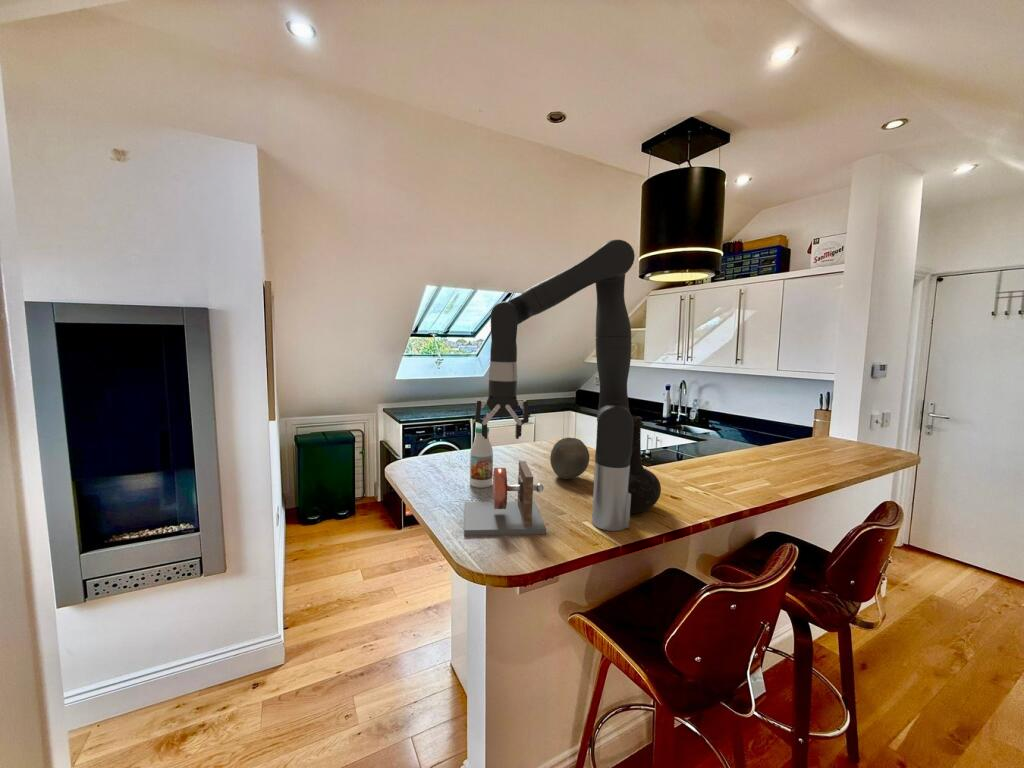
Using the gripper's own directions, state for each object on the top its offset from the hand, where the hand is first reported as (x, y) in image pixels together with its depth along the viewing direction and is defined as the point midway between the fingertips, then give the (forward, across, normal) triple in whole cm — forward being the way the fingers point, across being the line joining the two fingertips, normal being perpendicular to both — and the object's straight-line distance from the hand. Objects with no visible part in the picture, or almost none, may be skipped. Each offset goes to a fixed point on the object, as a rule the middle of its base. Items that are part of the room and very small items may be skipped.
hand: (501, 438), depth 112 cm
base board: (+23, -1, 0) cm, 23 cm away
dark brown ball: (+23, -28, -33) cm, 49 cm away
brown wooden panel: (+22, -7, 0) cm, 23 cm away
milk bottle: (+23, +4, -28) cm, 37 cm away
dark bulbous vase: (+23, -40, -7) cm, 47 cm away
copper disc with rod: (+19, -5, 0) cm, 20 cm away
